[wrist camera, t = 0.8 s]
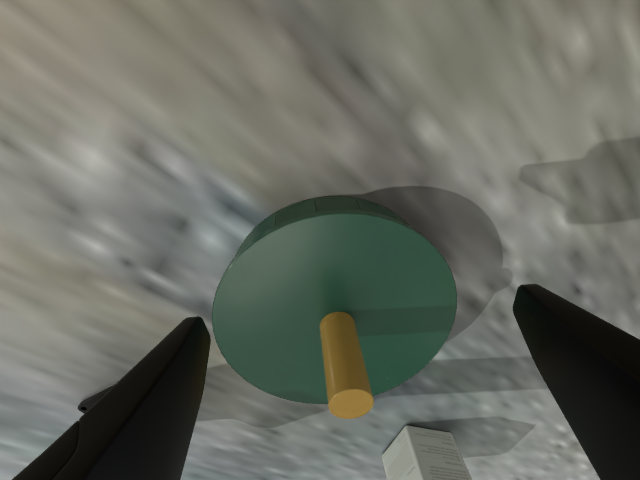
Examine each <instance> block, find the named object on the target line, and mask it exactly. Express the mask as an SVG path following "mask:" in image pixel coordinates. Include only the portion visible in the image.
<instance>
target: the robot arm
mask: <svg viewBox="0 0 640 480" xmlns="http://www.w3.org/2000/svg"><path fill="white" fill-rule="evenodd" d="M513 313H514V316H515V318H516V321H517V323H518V325H519V328H520V330H521V332H522V335H523V337H524V339H525V341H526V344H527V346H528V348H529V351H530V353H531V355H532V358H533V360H534V362H535V364H536V366H537V368H538V370H539V372H540V374H541V375H542V377H543V379H544V381H545V382H546V384H547V386H548V388H549V390H550V391H551V393H552V395H553V397H554V398H555V400H556V402H557V404H558V405H559V407H560V409H561V411H562V413H563V414H564V416H565V418H566V420H567V421H568V423H569V425H570V427H571V428H572V430H573V432H574V434H575V436H576V437H577V439H578V441H579V443H580V444H581V446H582V448H583V450H584V451H585V453H586V455H587V457H588V459H589V460H590V462H591V464H592V466H593V467H594V469H595V471H596V473H597V474H598V476H599V478H600V480H640V340H639V339H637V338H636V337H634V336H632V335H630V334H628V333H626V332H625V331H623V330H621V329H619V328H617V327H615V326H613V325H612V324H610V323H608V322H606V321H604V320H602V319H600V318H599V317H597V316H595V315H593V314H591V313H589V312H588V311H586V310H584V309H582V308H580V307H578V306H576V305H575V304H573V303H571V302H569V301H567V300H565V299H564V298H562V297H560V296H558V295H556V294H554V293H552V292H551V291H549V290H547V289H545V288H543V287H541V286H539V285H537V284H526V285H520V286H519V287H518V289H517V293H516V297H515V301H514V304H513ZM210 342H211V339H210V334H209V332H208V330H207V328H206V325H205V323H204V321H203V319H202V318H201V317H199V316H197V317H188V318H186V319H184V320H183V321H182V322H181V323H180V324H179V325H178V326H177V327H176V328H175V329H174V330H173V331H172V332H170V333H169V334H168V335H167V336H166V337H165V338H164V339H163V340H162V341H161V342H160V343H159V344H158V345H157V346H156V347H155V348H154V349H153V350H151V351H150V352H149V353H148V354H147V355H146V356H145V357H144V358H143V359H142V360H141V361H140V362H139V363H138V364H137V365H136V366H135V367H134V368H132V369H131V370H130V371H129V372H128V373H127V374H126V375H125V376H124V377H123V378H122V379H121V380H120V381H119V382H118V383H117V384H116V385H114V386H112V387H110V388H108V389H106V390H104V391H102V392H100V393H98V394H96V395H94V396H92V397H90V398H88V399H86V400H84V401H82V402H81V403H80V404H79V406H78V410H80V411H81V412H83V413H84V415H83V416H82V417H81V418H80V419H79V421H76V422H75V423H74V424H73V425H72V426H71V427H70V428H69V429H68V430H67V431H66V432H65V433H64V434H63V435H62V436H60V437H59V438H58V439H57V440H56V441H55V442H54V443H53V444H52V445H51V446H50V447H48V448H47V449H46V450H45V451H44V452H43V453H42V454H41V455H40V456H39V457H37V458H36V459H35V460H34V461H33V462H32V463H30V464H29V465H28V466H27V467H26V468H25V469H24V470H22V471H21V472H20V473H19V474H18V475H17V476H15V477H14V478H13V479H12V480H180V479H181V475H182V471H183V467H184V463H185V460H186V456H187V452H188V448H189V444H190V441H191V437H192V433H193V429H194V425H195V422H196V418H197V414H198V410H199V406H200V403H201V398H202V394H203V389H204V383H205V376H206V370H207V363H208V356H209V350H210Z"/></svg>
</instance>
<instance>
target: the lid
mask: <svg viewBox="0 0 640 480" xmlns="http://www.w3.org/2000/svg"><path fill="white" fill-rule="evenodd" d="M456 308H457V293H456V286H455V281H454V278H453V275H452V272H451V270H450V268H449V266H448V264H447V262H446V260H445V259H444V257H443V256H442V255H441V254H440V252H439V251H438V250H437V248H436V247H435V246H434V245H433V244H432V243H431V242H430V241H429V240H428V239H427V238H426V237H425V236H424V235H423V234H421V233H420V232H418V231H417V230H415V229H414V228H412V227H411V226H409V225H407V224H405V223H403V222H401V221H399V220H396V219H394V218H391V217H388V216H385V215H381V214H378V213H373V212H367V211H361V210H329V211H320V212H315V213H310V214H305V215H302V216H299V217H296V218H293V219H290V220H287V221H285V222H283V223H281V224H279V225H276V226H274V227H272V228H270V229H269V230H267V231H265V232H264V233H262V234H261V235H259V236H258V237H256V238H255V239H254V240H252V241H251V242H250V243H249V244H248V245H247V246H245V247H244V248H243V249H242V250H241V251H240V252H239V253H238V255H237V256H236V257H235V258H234V259H233V260H232V262H231V263H230V265H229V266H228V268H227V269H226V271H225V272H224V274H223V276H222V279H221V281H220V283H219V285H218V288H217V291H216V295H215V299H214V302H213V311H212V323H213V331H214V335H215V339H216V342H217V344H218V347H219V349H220V351H221V353H222V355H223V356H224V358H225V359H226V361H227V362H228V364H229V365H230V366H231V367H232V368H233V369H234V370H235V371H236V372H237V373H238V374H239V375H240V376H241V377H242V378H244V379H245V380H246V381H247V382H249V383H251V384H252V385H254V386H255V387H257V388H259V389H261V390H263V391H265V392H267V393H269V394H272V395H274V396H277V397H280V398H284V399H287V400H291V401H296V402H303V403H312V404H328V406H329V410H330V412H331V413H332V414H333V415H335V416H337V417H339V418H344V419H352V418H357V417H360V416H362V415H364V414H366V413H367V412H369V411H370V409H371V408H372V406H373V403H374V399H373V396H375V395H377V394H380V393H383V392H385V391H387V390H390V389H392V388H394V387H396V386H398V385H400V384H401V383H403V382H405V381H406V380H408V379H409V378H411V377H412V376H414V375H415V374H416V373H418V372H419V371H420V370H421V369H422V368H423V367H425V366H426V365H427V364H428V363H429V362H430V361H431V360H432V359H433V357H434V356H435V355H436V354H437V353H438V351H439V350H440V348H441V347H442V346H443V344H444V343H445V341H446V339H447V337H448V335H449V333H450V331H451V328H452V325H453V322H454V319H455V314H456Z"/></svg>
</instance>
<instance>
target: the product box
mask: <svg viewBox="0 0 640 480" xmlns="http://www.w3.org/2000/svg"><path fill="white" fill-rule="evenodd" d="M382 460H383V464H384V469H385V473H386V477H387V480H472V478H471V476H470V474H469V472H468V469H467V467H466V465H465V463H464V460H463V458H462V456H461V454H460V452H459V449H458V447H457V445H456V442H455V440H454V438H453V436H452V433H449V432H443V431H437V430H431V429H425V428H419V427H413V426H408V425H406V426H405V427H404V428H403V430H402V431H401V432H400V433H399V435H398V436H397V437H396V438H395V440H394V441H393V442H392V444H391V445H390V446H389V447H388V449H387V450H386V451H385V452H384V454H383V455H382Z"/></svg>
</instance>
